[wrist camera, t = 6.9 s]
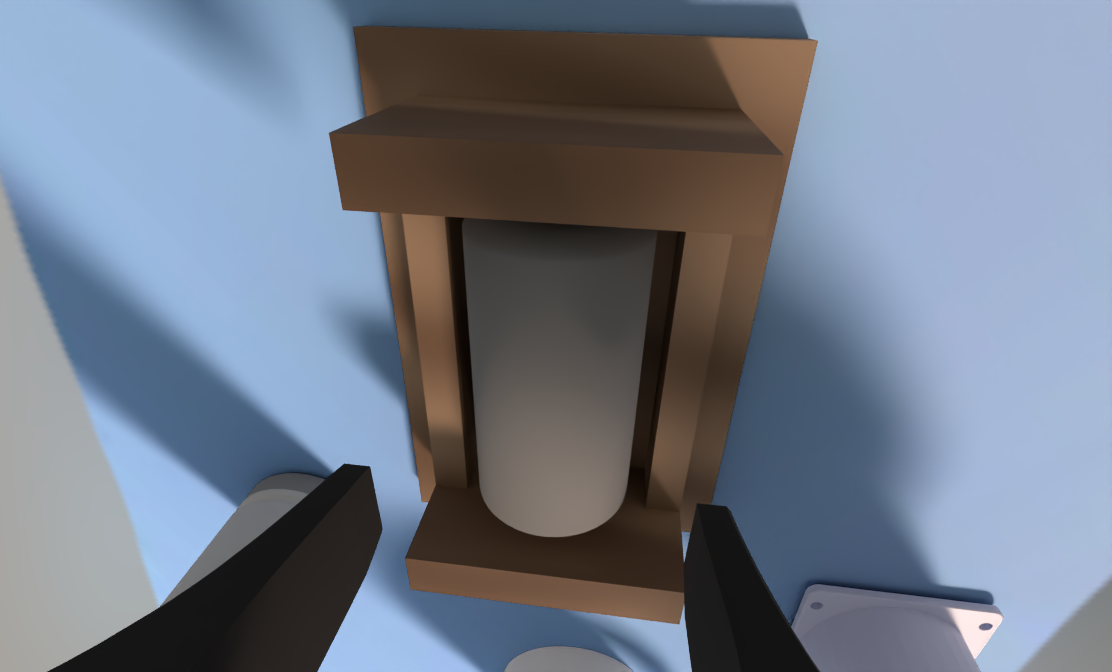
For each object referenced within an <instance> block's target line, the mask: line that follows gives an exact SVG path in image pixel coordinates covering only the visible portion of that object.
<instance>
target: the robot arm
mask: <svg viewBox="0 0 1112 672" xmlns="http://www.w3.org/2000/svg"><path fill="white" fill-rule="evenodd" d="M382 530H383V529H382V524H381V519H380V514H379V509H378V504H377V499H376V494H375V489H374V484H373V479H372V474H371V469H370V467H369V466H360V465H351V464H343V465H342V466H341V467H340V468H339V469H337V470H336V471H335V472H334V473H333V474H331V475H330V476H329V477H328V478H327V479H325V480H324V481H323V482H322V483H321V484H320V485H318V486H317V487H316V488H315V489H314V490H313V491H312V492H310V493H309V494H308V495H307V496H306V497H305V498H303V499H302V500H301V501H300V502H299V503H298V504H296V505H295V506H294V507H293V508H292V509H291V510H289V511H288V512H287V513H286V514H285V515H283V516H282V517H281V518H280V519H278V520H277V521H276V522H275V523H274V524H272V525H271V526H270V527H269V528H268V529H266V530H265V531H264V532H263V533H262V534H260V535H259V536H258V537H257V538H255V539H254V540H253V541H252V542H250V543H249V544H248V545H246V546H245V547H244V548H242V549H241V550H240V551H239V552H237V553H236V554H235V555H233V556H232V557H231V558H229V559H228V560H227V561H226V562H224V563H223V564H222V565H220V566H219V567H218V568H216V569H215V570H214V571H212V572H211V573H209V574H208V575H207V576H205V577H204V578H202V579H201V580H200V581H198V582H197V583H195V584H194V585H192V586H191V587H190V588H188V589H187V590H185V591H184V592H182V593H181V594H179V595H178V596H176V597H175V598H173V599H172V600H170V601H169V602H167V603H166V604H164V605H162V606H161V607H159V608H158V609H156V610H155V611H153V612H151V613H150V614H148V615H146V616H145V617H143V618H142V619H140V620H138V621H136V622H135V623H133V624H131V625H130V626H128V627H127V628H125V629H123V630H121V631H120V632H118V633H116V634H115V635H113V636H111V637H110V638H108V639H106V640H105V641H103V642H101V643H100V644H98V645H96V646H94V647H92V648H91V649H89V650H87V651H85V652H83V653H81V654H80V655H78V656H76V657H74V658H72V659H70V660H69V661H67V662H65V663H63V664H61V665H60V666H57V667H56V668H53V669H52V670H50V671H48V672H317V671H318V669H319V667H320V665H321V663H322V661H323V660H324V658H325V656H326V654H327V652H328V650H329V648H330V646H331V644H332V642H333V640H334V638H335V636H336V634H337V632H338V630H339V628H340V626H341V624H342V622H343V620H344V618H345V616H346V614H347V612H348V610H349V608H350V606H351V604H352V602H353V600H354V598H355V596H356V594H357V592H358V590H359V588H360V586H361V584H362V582H363V580H364V578H365V576H366V574H367V571H368V569H369V566H370V563H371V561H372V558H373V555H374V553H375V550H376V547H377V544H378V541H379V538H380V535H381V533H382ZM684 606H685V621H686V629H687V637H688V645H689V653H690V660H691V668H692V672H981V671H980V669H979V667H978V665H977V663H976V661H975V658H976V657H977V655H978V654H979V653H980V651H981V650H982V648H983V647H984V646H985V644H986V643H987V641H988V640H989V639H990V637H991V636H992V634H993V633H994V632H995V630H996V629H997V627H998V626H999V625H1000V623H1001V622H1002V620H1003V615H1002V613H1001V612H1000V610H999V608H997V607H996V606H993V605H988V604H979V603H971V602H963V601H954V600H946V599H938V598H929V597H921V596H913V595H904V594H896V593H888V592H879V591H871V590H863V589H854V588H846V587H838V586H829V585H821V584H815V585H811V586H809V587H808V588H807V589H806V591H805V593H804V596H803V599H802V601H801V604H800V606H799V609H798V611H797V614H796V616H795V619H794V621H793V624H792V626H790V624H789V623H788V621H787V619H786V618H785V616H784V614H783V613H782V611H781V609H780V608H779V606H778V604H777V602H776V600H775V599H774V597H773V595H772V593H771V592H770V590H769V588H768V586H767V585H766V583H765V581H764V579H763V577H762V575H761V574H760V572H759V570H758V568H757V566H756V564H755V562H754V560H753V558H752V556H751V554H750V552H749V550H748V548H747V546H746V544H745V542H744V540H743V538H742V536H741V534H740V532H739V529H738V527H737V525H736V523H735V520H734V518H733V516H732V513H731V511H730V510H729V509H728V508H727V507H726V506H718V505H709V504H700V503H697V505H696V509H695V514H694V519H693V524H692V529H691V533H690V538H689V543H688V548H687V552H686V557H685V562H684Z"/></svg>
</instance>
